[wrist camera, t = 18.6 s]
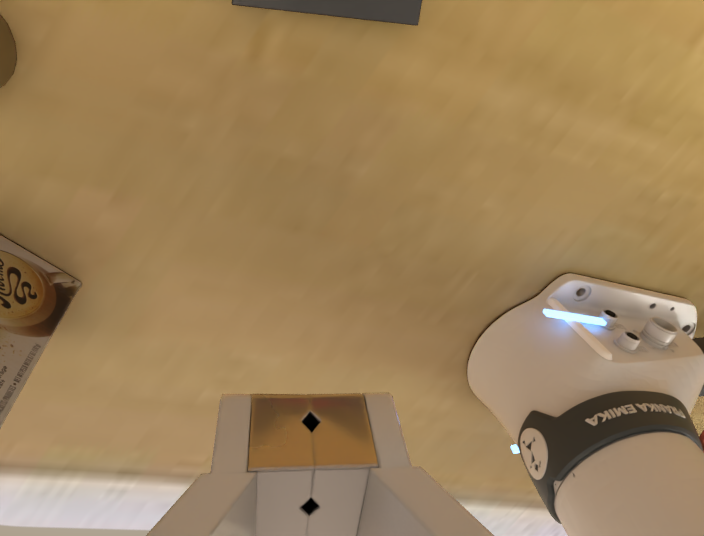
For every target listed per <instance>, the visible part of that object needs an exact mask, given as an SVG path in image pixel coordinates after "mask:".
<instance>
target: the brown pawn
mask: <svg viewBox="0 0 704 536" xmlns="http://www.w3.org/2000/svg"><path fill="white" fill-rule="evenodd" d="M16 60H17V56H16V47H15V41H14V38H13V36H12V34H11V32H10V29H9V27H8V25H7V23H6V22H5V20H4V19H3V18H2V16H1V15H0V87H2V86H4V85H5V84H6V82H7V81H8V80H9V78H10V77H11V76H12V75H13V72H14V68H15V64H16Z"/></svg>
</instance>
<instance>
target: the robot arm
mask: <svg viewBox="0 0 704 536" xmlns="http://www.w3.org/2000/svg"><path fill="white" fill-rule="evenodd" d="M578 289H580V290H579V291H577V290H578ZM696 325H697V310H696V307H695V306H694V305H693V304H692V302H691V301H689V300H687V299H684V298H680V297H676V296H671V295H667V294H663V293H658V292H654V291H649V290H645V289H640V288H636V287H631V286H627V285H622V284H618V283H613V282H609V281H604V280H600V279H595V278H591V277H586V276H582V275H577V274H572V273H568V274H564V275H562V276H560V277H559V278H557V279H556V280H554V281H553V282H552V283H551V284H550V285H549V286H548V287H547V288H545V289H544V290H543V291H542V292H541V293H540V294H539V295H538V296H536V297H535V298H533V299H531V300H529V301H527V302H525V303H523V304H521V305H519V306H517V307H515V308H514V309H512V310H510V311H509V312H507V313H505V314H504V315H503V316H501V317H500V318H499V319H497V320H496V321H495V322H494V323H493V324H492V325H491V326H490V327H489V328H488V329H487V330H486V331H485V332H484V333H483V334H482V336H481V337H480V338H479V340H478V341H477V343H476V344H475V346H474V348H473V350H472V352H471V355H470V358H469V362H468V367H467V377H468V382H469V385H470V388H471V390H472V391H473V393H474V394H475V396H476V397H477V398H478V399H479V400H480V401H481V402H483V403H484V404H485V406H486V407H487V408H488V409H489V410H490V411H491V412H492V413H493V414H494V416H495V417H496V418H497V419H498V420H499V422H500V423H501V424H502V426H503V427H504V428H505V430H506V431H507V432H508V434H509V435H510V436H511V438H512V439H513V441H514V442H515V444H516V445H511V449H512V451H513V453H514V454H515V453H520V454H521V457H522V459H523V462H524V464H525V467H526V469H527V471H528V473H529V476H530V478H531V480H532V481H533V483H534V485H535V487H536V489H537V491H538V493H539V495H540V496H541V498H542V500H543V502H544V503H545V505H546V507H547V509H548V511H549V512H550V514H551V516H552V517H553V518H554V519H555V520H556V521H557V522H558V523H560V524H562V525H563V527H564V529H565V531H566V533H567V535H568V536H704V430H703V432H702V434H701V435H700V437H699V436H698V433H697V431H696V429H695V426H694V424H693V422H692V420H691V417H690V414H691V412H692V409H693V407H694V405H695V403H696V401H697V398H698V396H704V337H703V338H695V339H693V337H694V334H695V330H696ZM146 536H494V535H493V534H492V533H491V532H490V531H489V530H487V529H486V528H485V527H484V526H483V525H482V524H481V523H480V522H479V521H478V520H477V519H476V518H475V517H474V516H473V515H471V514H470V513H469V512H468V511H467V510H466V509H465V508H464V507H463V506H462V505H461V504H460V503H459V502H458V501H457V500H455V499H454V498H453V497H452V496H451V495H450V494H449V493H448V492H447V491H446V490H445V489H444V488H443V487H442V486H441V485H440V484H438V483H437V482H436V481H435V480H434V479H433V478H432V477H431V476H430V475H429V474H428V473H427V472H426V471H425V470H424V469H422V468H421V467H412V465H411V461H410V457H409V454H408V450H407V447H406V443H405V440H404V436H403V432H402V429H401V425H400V422H399V418H398V415H397V411H396V408H395V404H394V400H393V397H392V396H391V394H390V393H362V394H361V393H353V394H307V395H298V394H252V395H251V394H222V397H221V400H220V405H219V412H218V420H217V428H216V435H215V443H214V450H213V458H212V465H211V473H209V474H201V475H200V476H199V477H198V478H197V479H196V480H195V481H194V482H193V484H192V485H191V486H190V487H189V488H188V489H187V490H186V491H185V492H184V494H183V495H182V496H181V497H180V498H179V499H178V500H177V501H176V503H175V504H174V505H173V506H172V507H171V508H170V509H169V510H168V512H167V513H166V514H165V515H164V516H163V517H162V518H161V519H160V521H159V522H158V523H157V524H156V525H155V526H154V527H153V528H152V529H151V531H150V532H149V533H148V534H147V535H146Z"/></svg>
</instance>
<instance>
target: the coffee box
mask: <svg viewBox="0 0 704 536" xmlns="http://www.w3.org/2000/svg"><path fill="white" fill-rule="evenodd" d="M81 286H82V284H81V282H80V281H78V280H76V279H75V278H73V277H71V276H70V275H68V274H66V273H64V272H63V271H61V270H59V269H58V268H56V267H54V266H53V265H51V264H49V263H47V262H46V261H44V260H42V259H40V258H39V257H37V256H35V255H34V254H32V253H30V252H28V251H27V250H25V249H23V248H22V247H20V246H18V245H16V244H15V243H13V242H11V241H10V240H8V239H6V238H4V237H3V236H1V235H0V428H1V426H2V425H3V423H4V421H5V419H6V417H7V415H8V413H9V412H10V410H11V408H12V406H13V405H14V403H15V401H16V399H17V397H18V396H19V394H20V392H21V390H22V388H23V387H24V385H25V383H26V381H27V379H28V378H29V376H30V374H31V372H32V370H33V369H34V367H35V365H36V363H37V362H38V360H39V358H40V356H41V354H42V353H43V351H44V349H45V347H46V346H47V344H48V342H49V340H50V338H51V337H52V335H53V333H54V332H55V330H56V328H57V326H58V325H59V323H60V321H61V319H62V318H63V316H64V314H65V312H66V311H67V309H68V307H69V305H70V303H71V302H72V300H73V298H74V297H75V295H76V293H77V292H78V290H79V289H80V288H81Z"/></svg>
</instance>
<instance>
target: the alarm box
mask: <svg viewBox="0 0 704 536" xmlns="http://www.w3.org/2000/svg"><path fill="white" fill-rule="evenodd" d="M421 3H422V0H232V5H239V6H248V7H257V8H266V9H275V10H284V11H293V12H301V13H310V14H319V15H328V16H337V17H346V18H355V19H364V20H373V21H382V22H391V23H400V24H408V25H418V22H419V15H420V9H421Z"/></svg>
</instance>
